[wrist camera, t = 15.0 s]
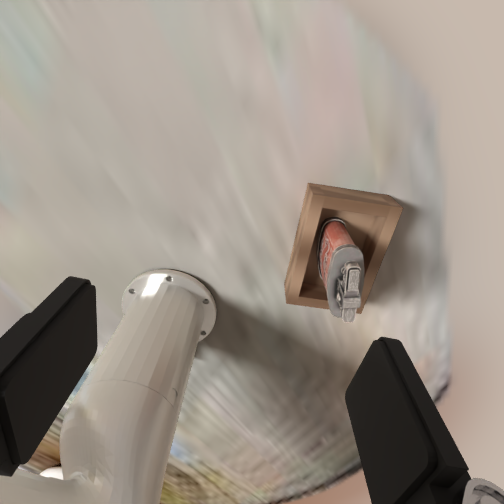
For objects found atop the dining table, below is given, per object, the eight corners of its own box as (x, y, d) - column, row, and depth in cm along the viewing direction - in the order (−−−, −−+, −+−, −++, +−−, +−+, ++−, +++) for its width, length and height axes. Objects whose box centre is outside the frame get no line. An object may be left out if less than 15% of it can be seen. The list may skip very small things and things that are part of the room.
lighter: (343, 277, 38) (366, 335, 29) (315, 278, 38) (330, 335, 29) (348, 215, 34) (378, 261, 25) (317, 216, 34) (335, 262, 26)
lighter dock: (352, 293, 40) (361, 313, 37) (284, 284, 40) (286, 303, 36) (388, 195, 34) (403, 207, 30) (308, 182, 34) (313, 194, 30)
